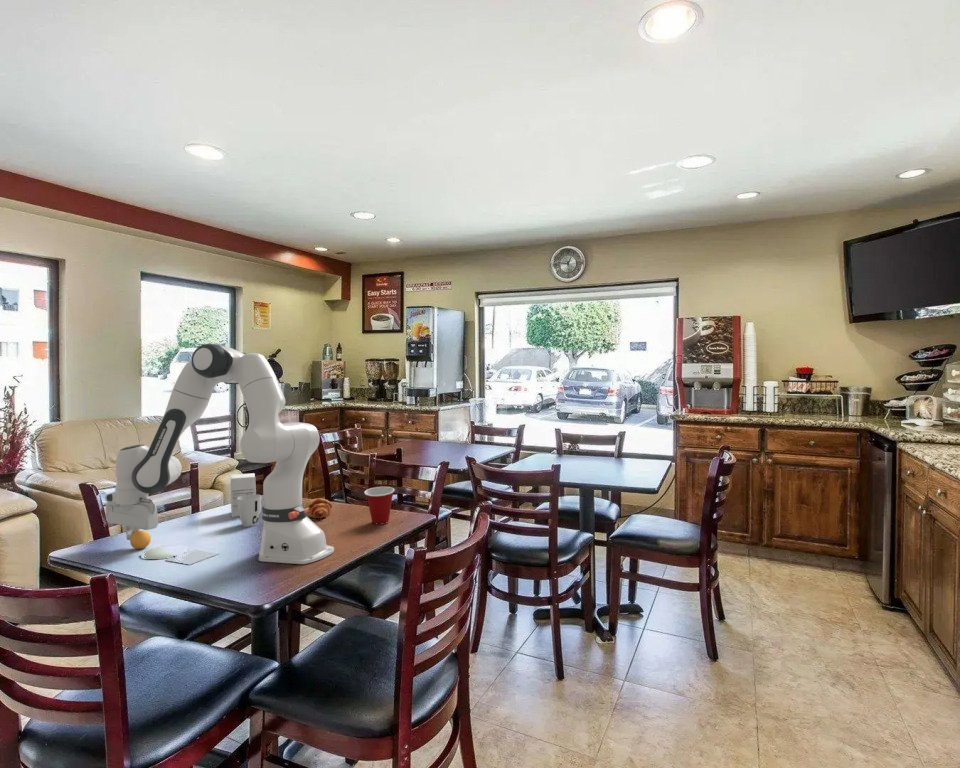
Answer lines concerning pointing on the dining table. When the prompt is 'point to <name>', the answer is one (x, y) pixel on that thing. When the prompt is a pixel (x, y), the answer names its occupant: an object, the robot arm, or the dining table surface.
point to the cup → (249, 509)
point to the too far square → (194, 557)
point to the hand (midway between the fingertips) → (131, 539)
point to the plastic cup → (379, 503)
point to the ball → (140, 539)
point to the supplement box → (241, 489)
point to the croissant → (318, 508)
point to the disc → (158, 553)
